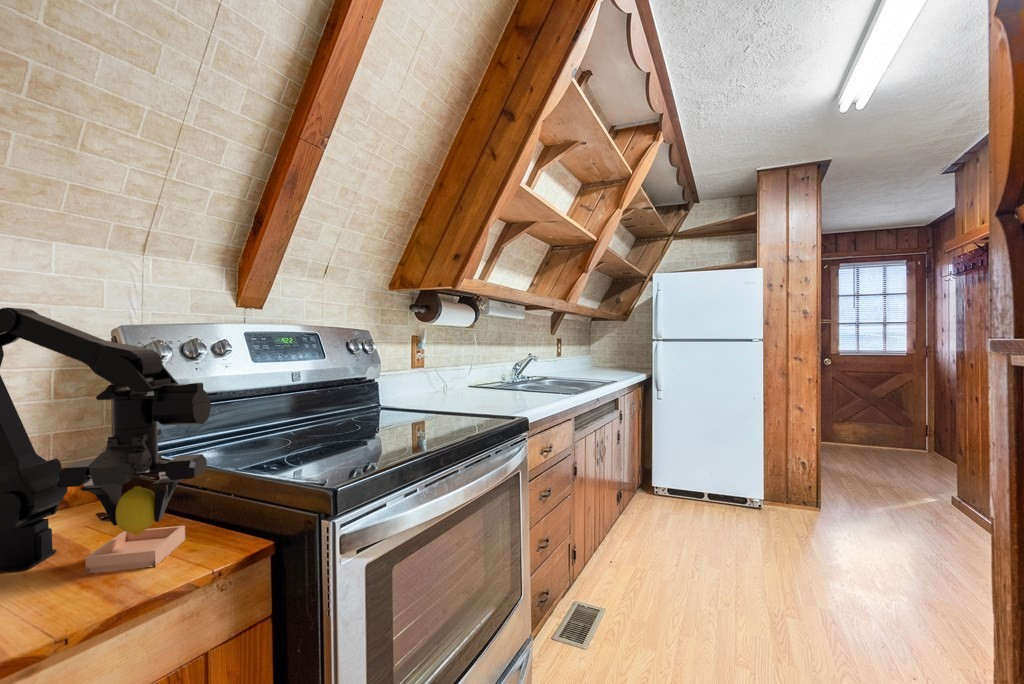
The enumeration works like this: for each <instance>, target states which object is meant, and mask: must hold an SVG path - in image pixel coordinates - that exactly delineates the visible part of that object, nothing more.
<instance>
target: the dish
mask: <svg viewBox="0 0 1024 684" xmlns="http://www.w3.org/2000/svg"><path fill="white" fill-rule="evenodd" d="M185 540H186V526H185V525H177V526H176V525H175V526H166V527H156V528H154V527H153V528H148V529H146V530H144V531H143V532H142V533H141V534H140V535H137V536H136V535H134V534H133V533H129V532H126V531H124V530H123V531H122V532H121V533H119V534H118V535H117V536H114V537H113V538H112V539H110V540H109V541H107V542H106V543H104V544H103V545H101V546H100V547H99V548H97V549H96V550H95V551H93V552H91V553H90V554H89V555H87V556H86V557H85V558H84V560H85V561H84V562H85V575H92V574H91V573H94V574H100V573H101V572H103V573H112V572H119V570H122V571H127V570H126V569H132V570H136V569H135V568H141V569H145V568H144V567H150V566H156V565H157V564H158V563H159V564H160V562H161V561H162V560H163V559H164V558H165V557H166V556H167V557H168V556H169V555H170V554H172V553H173V552H174V551H175V550H176V549H177V548H178V547H180V546H181V544H182V543H183V542H184V541H185ZM172 551H173V552H172ZM167 557H166V558H167ZM166 558H165V559H166ZM165 559H164V560H165ZM164 560H163V561H164ZM163 561H162V562H163ZM162 562H161V563H162ZM159 564H158V565H159ZM158 565H157V566H158ZM157 566H156V567H157ZM101 574H102V573H101Z"/></svg>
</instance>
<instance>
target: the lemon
mask: <svg viewBox="0 0 1024 684" xmlns="http://www.w3.org/2000/svg"><path fill="white" fill-rule="evenodd" d="M154 511H155V491H152V490H151V489H149V488H146V487H142V486H141V485H136V486H133V488H131V489H129V490H127V491H125V492H124V493H123V494H122V497H121V498H120V500H119V501H118V504H117V507H116V521H117V524H118V525H117V526H118V527H119V529H121V530H122V531H123V532H124V531H126V532H129V533H133V534H134V535H136V536H137V535H140V534H141V533H142V532H143V531H144V530H146V529H150V527H151V526H153V525H154V523H156V522H155V515H154Z"/></svg>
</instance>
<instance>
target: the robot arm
mask: <svg viewBox="0 0 1024 684" xmlns="http://www.w3.org/2000/svg"><path fill="white" fill-rule="evenodd" d="M20 339H22V340H24V341H27V342H29V343H32V344H35V345H36V346H37V345H38V346H39V347H42V348H45V349H48V350H51V351H52V352H56V353H58V354H60V355H63V356H65V357H68V358H71V359H74V360H75V361H76V360H77V361H78V362H81V363H83V364H85V366H88V367H89V369H90V370H91V371H92V372H93V373H94V374H95V375H97V376H98V377H100V378H102V379H104V380H105V381H107V382H109V383H110V384H108V386H107V387H106V388H105V389H104V390H103V391H101V392H100V393H98V394H97V395H96V397H95V399H96V400H98V401H111V404H112V405H111V407H112V409H111V413H112V415H111V416H112V417H111V419H112V435H110V436H108V437H107V441H106V449H105V451H103V452H101V453H100V454H99V455H98V456H96V457H95V459H93V460H81V461H79V462H76V463H73V464H70V465H68V466H66V467H65V466H64V467H62V463H61V461H60V460H59V459H58V458H57V457H55V458H52V459H49V460H46V459H45V458H43V457H42V456H40V455H38V454H37V452H36V450H35V448H34V446H33V444H32V441H31V440H30V437H29V435H28V433H27V431H26V428H25V425H24V424H23V421H22V419H21V418H20V415H19V413H18V411H17V408H16V406H15V404H14V402H13V400H12V398H11V395H10V393H9V391H8V388H7V386H6V384H5V382H4V379H3V378H2V376H1V375H2V374H0V573H3V572H4V573H6V572H13V571H14V572H15V571H26V570H28V569H31V568H33V567H34V566H36V565H38V564H39V563H41V562H43V561H44V560H47V559H48V558H49V557H51V556H52V555H54V554H56V553H57V549H56V548H53V530H52V527H50V526H49V525H50V524H49V518H48V517H50V516H53V515H55V514H56V513H57V510H58V508H59V506H60V504H61V502H62V501H63V500H64V499H65V496H66V494H67V493H68V488H72V487H73V488H75V487H80V490H81V491H82V492H89V493H91V494H92V495H94V496H95V497H96V498H97V499H98V500H99V502H100V503H101V505H102V507H103V508H104V510H105V513H106V514H107V516H108V518H109V520H110V521H111V524H112V526H114V527H115V526H118V524H117V521H116V507H117V504H118V501H119V500H120V498H121V497H122V496H123V485H125V484H128V483H129V482H131V481H132V480H133V478H134V476H145V475H146V476H147V475H148V476H150V475H158V478H159V479H158V480H156V481H154V482H153V483H152V484H151V485H152V488H153V489H154V494H155V511H154V515H155V522H154V523H159V522H160V521H161V520H162V518H163V516H164V514H165V511H166V509H167V506H168V504H169V502H170V499H171V498H172V496H173V495H172V494H173V493H174V491H175V489H176V488H177V485H178V483H179V482H180V481H181V480H190V479H195V478H196V477H198V476H199V475H201V474H203V473H204V472H205V471H206V470H208V464H207V462H208V461H207V458H206V457H205V455H204V454H202V453H201V454H200V453H199V454H198V453H196V454H183V455H182V454H180V455H179V456H176V457H174V458H172V459H171V460H168V461H161V460H163V459H162V458H163V457H162V453H160V452H159V440H158V439H159V438H158V437H159V436H161V435H162V429H161V428H158V423H159V424H160V425H162V426H167V427H168V426H188V425H189V426H190V425H196V426H197V425H204V424H205V423H206V422H207V421H208V419H209V417H210V414H211V408H212V405H211V404H212V403H211V402H212V401H211V400H210V399H209V395H208V393H207V391H206V390H204V383H203V382H192V383H181V384H179V383H178V382H177V380H176V379H175V377H173V375H172V374H171V373H170V372H169V371H168V370H167V367H165V366H164V365H163V361H162V358H161V355H160V354H159V353H158V352H157V351H155V350H153V349H150V348H146V347H141V346H137V345H133V344H127V343H119V342H113V341H108V340H105V339H102V338H99V337H98V336H95V335H92V334H90V333H87V332H85V331H82V330H80V329H77V328H74V327H72V326H69V325H67V324H65V323H62V322H59V321H57V320H54V319H52V318H50V317H47V316H44V315H41V314H40V313H38V312H37V311H35V310H33V309H31V308H22V307H20V308H19V307H2V308H0V368H1V367H2V363H3V359H4V356H5V355H4V353H5V352H4V349H3V347H5V346H7V345H10V344H12V343H15V342H17V341H18V340H20ZM151 392H153V393H151ZM82 485H83V486H82ZM81 486H82V487H81Z"/></svg>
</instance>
